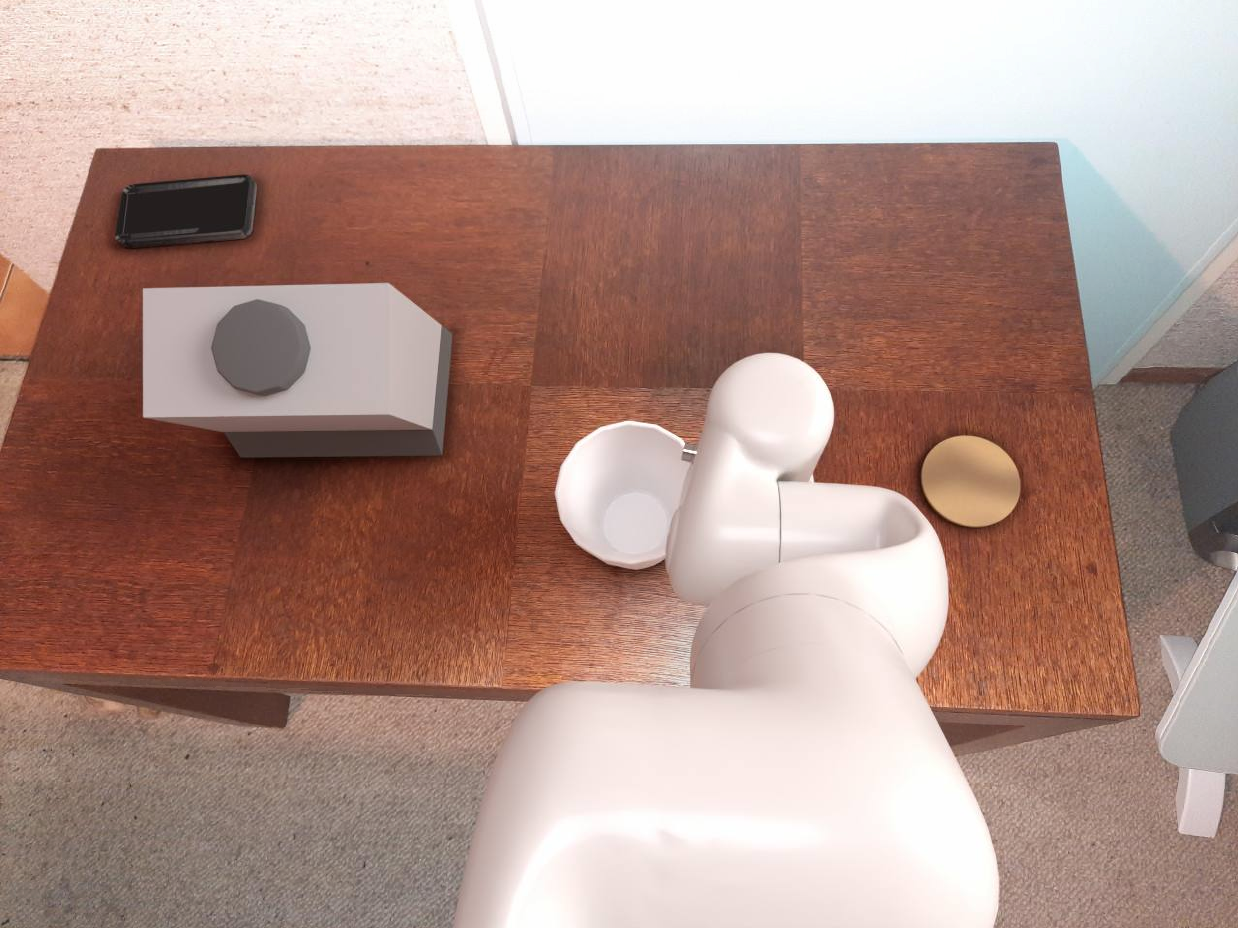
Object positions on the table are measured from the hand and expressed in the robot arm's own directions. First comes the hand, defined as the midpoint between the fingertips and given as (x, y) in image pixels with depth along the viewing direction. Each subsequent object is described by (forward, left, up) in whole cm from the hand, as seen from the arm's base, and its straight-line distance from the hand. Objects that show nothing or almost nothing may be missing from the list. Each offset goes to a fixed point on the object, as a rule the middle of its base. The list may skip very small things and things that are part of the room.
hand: (736, 535), depth 78 cm
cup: (+3, +9, -2) cm, 10 cm away
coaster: (+1, -23, -2) cm, 23 cm away
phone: (+48, +51, -2) cm, 71 cm away
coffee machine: (+21, +35, -2) cm, 41 cm away
